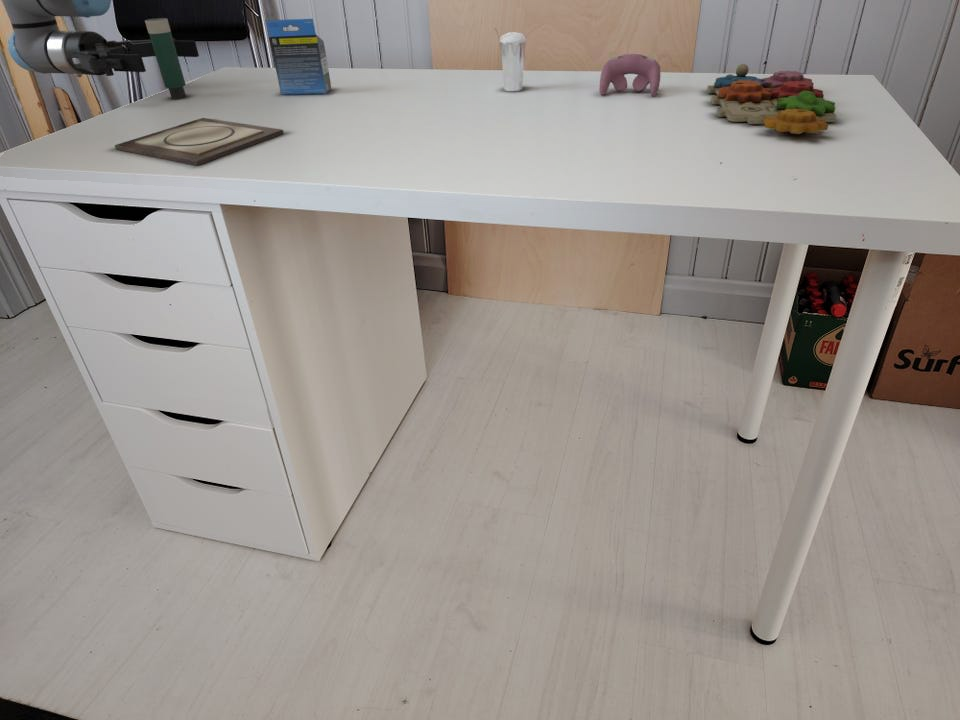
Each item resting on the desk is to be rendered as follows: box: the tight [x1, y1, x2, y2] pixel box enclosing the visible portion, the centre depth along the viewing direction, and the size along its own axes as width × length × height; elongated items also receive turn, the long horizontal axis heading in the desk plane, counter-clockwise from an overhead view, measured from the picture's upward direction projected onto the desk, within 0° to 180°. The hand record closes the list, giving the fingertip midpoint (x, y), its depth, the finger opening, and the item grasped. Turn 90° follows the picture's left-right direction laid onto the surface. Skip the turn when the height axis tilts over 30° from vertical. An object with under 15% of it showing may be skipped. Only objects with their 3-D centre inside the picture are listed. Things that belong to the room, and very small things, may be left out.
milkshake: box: [494, 27, 527, 92], centre depth 112 cm, size 4×5×10 cm
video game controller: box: [599, 53, 661, 97], centre depth 108 cm, size 10×5×7 cm, turn 74°
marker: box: [144, 17, 187, 100], centre depth 117 cm, size 4×4×13 cm
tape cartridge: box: [264, 18, 332, 96], centre depth 116 cm, size 9×4×12 cm, turn 84°
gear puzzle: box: [706, 63, 837, 135], centre depth 95 cm, size 31×16×4 cm, turn 169°
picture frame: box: [114, 117, 284, 166], centre depth 96 cm, size 18×16×1 cm
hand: (170, 55), depth 117 cm, fingers open, 13 cm apart
